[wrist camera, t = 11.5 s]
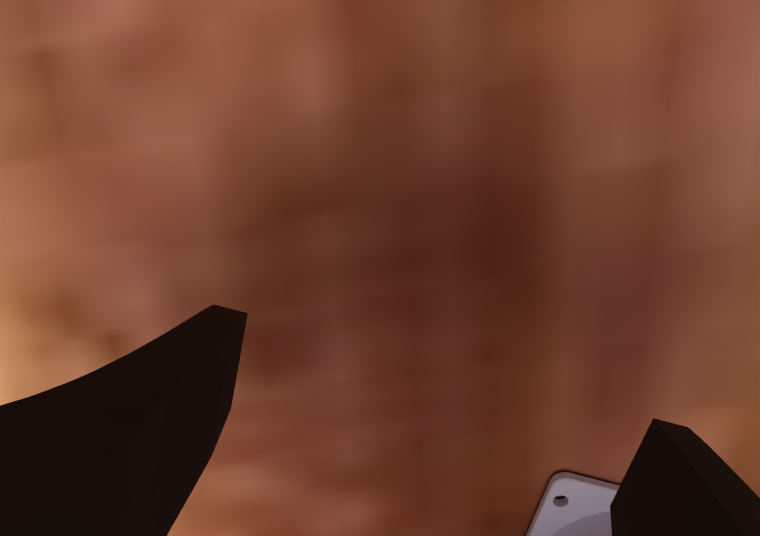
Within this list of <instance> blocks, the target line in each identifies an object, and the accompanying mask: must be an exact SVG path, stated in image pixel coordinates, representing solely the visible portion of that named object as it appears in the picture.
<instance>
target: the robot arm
mask: <svg viewBox="0 0 760 536" xmlns="http://www.w3.org/2000/svg"><path fill="white" fill-rule="evenodd" d="M247 314H248V313H244V312H241V311H237V310H233V309H229V308H225V307H221V306H217V305H212V306H210V307H208V308H206V309H204V310H203V311H201V312H199V313H198V314H196V315H194V316H193V317H191V318H189V319H188V320H186V321H185V322H183V323H181V324H180V325H178V326H176V327H175V328H173V329H171V330H170V331H168V332H166V333H165V334H163V335H161V336H160V337H158V338H156V339H154V340H153V341H151V342H149V343H147V344H145V345H144V346H142V347H140V348H138V349H137V350H135V351H133V352H131V353H129V354H128V355H126V356H124V357H122V358H120V359H117V360H115V361H113V362H111V363H109V364H107V365H105V366H103V367H101V368H99V369H97V370H95V371H93V372H91V373H89V374H87V375H84V376H82V377H80V378H77V379H75V380H73V381H70V382H68V383H65V384H63V385H60V386H57V387H55V388H52V389H49V390H47V391H44V392H41V393H39V394H36V395H33V396H30V397H27V398H24V399H21V400H17V401H14V402H11V403H7V404H4V405H1V406H0V536H167V534H168V532H169V531H170V529H171V527H172V525H173V524H174V522H175V520H176V518H177V517H178V515H179V513H180V511H181V510H182V508H183V506H184V504H185V502H186V501H187V499H188V497H189V495H190V494H191V492H192V490H193V488H194V487H195V485H196V483H197V481H198V479H199V478H200V476H201V474H202V472H203V470H204V469H205V467H206V465H207V463H208V461H209V460H210V458H211V456H212V453H213V451H214V449H215V446H216V444H217V441H218V439H219V437H220V434H221V432H222V429H223V427H224V424H225V422H226V419H227V417H228V414H229V412H230V409H231V405H232V399H233V394H234V388H235V382H236V377H237V371H238V365H239V360H240V354H241V348H242V342H243V337H244V331H245V325H246V320H247ZM559 495H562V496H565V498H562V499H556V498H555V497H556V496H559ZM526 536H760V498H759V497H758V496H757V495H756V494H755V493H754V492H753V491H752V490H751V489H750V488H749V487H748V486H747V485H746V484H745V482H744V481H743V480H742V479H741V478H740V477H739V476H738V475H737V474H736V473H735V472H734V471H733V470H732V469H731V468H730V467H729V466H728V465H727V464H726V463H725V462H724V461H723V460H722V459H721V458H720V457H719V456H718V455H717V454H716V453H715V452H714V451H713V450H712V449H711V448H710V447H709V446H708V445H707V444H706V443H705V442H704V441H703V440H702V439H701V438H700V437H699V436H697V435H696V434H695V433H694V432H693V431H692V430H691V429H689V428H688V427H685V426H681V425H677V424H673V423H669V422H666V421H662V420H658V419H654V418H653V420H652V422H651V424H650V426H649V428H648V430H647V432H646V434H645V436H644V438H643V440H642V442H641V444H640V446H639V448H638V450H637V452H636V454H635V456H634V458H633V460H632V462H631V464H630V466H629V468H628V470H627V472H626V474H625V476H624V478H623V480H622V482H621V484H620V486H619V485H615V484H611V483H607V482H604V481H600V480H596V479H592V478H588V477H584V476H580V475H576V474H573V473H568V472H561V473H557V474H556V475H554V476H553V477H552V478H551V480H550V482H549V484H548V486H547V489H546V491H545V493H544V495H543V498H542V500H541V502H540V504H539V507H538V509H537V511H536V514H535V516H534V518H533V520H532V523H531V525H530V527H529V529H528V532H527V534H526Z"/></svg>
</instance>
